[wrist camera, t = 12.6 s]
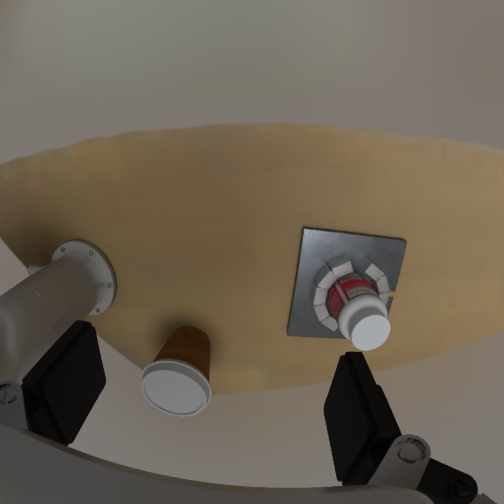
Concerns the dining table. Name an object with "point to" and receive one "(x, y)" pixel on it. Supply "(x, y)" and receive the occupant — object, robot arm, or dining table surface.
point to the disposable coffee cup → (180, 374)
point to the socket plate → (327, 251)
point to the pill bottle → (358, 311)
